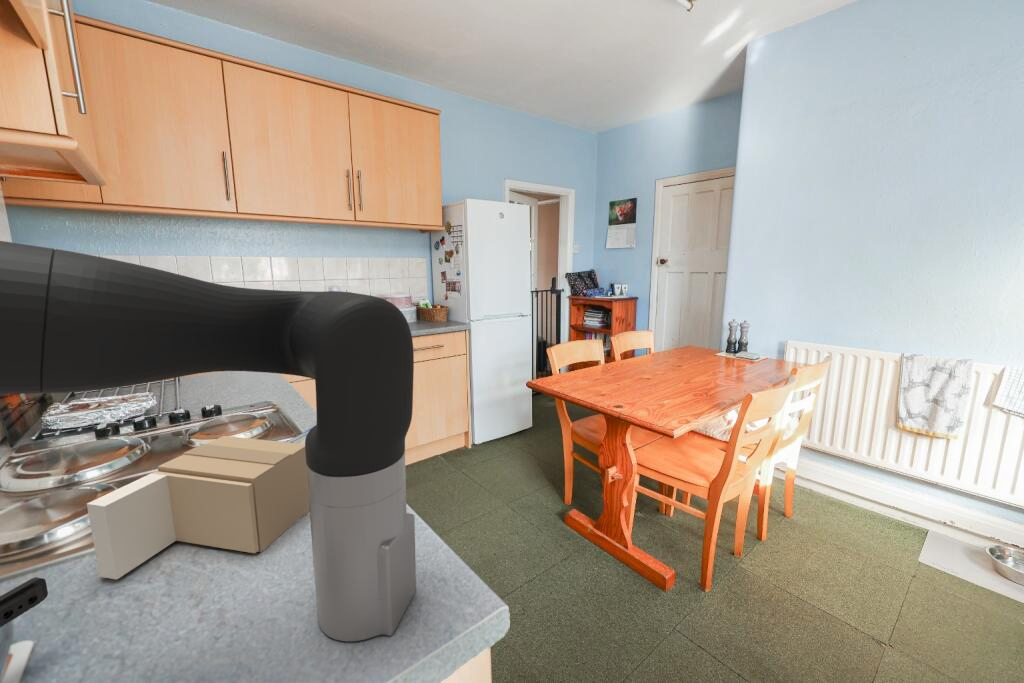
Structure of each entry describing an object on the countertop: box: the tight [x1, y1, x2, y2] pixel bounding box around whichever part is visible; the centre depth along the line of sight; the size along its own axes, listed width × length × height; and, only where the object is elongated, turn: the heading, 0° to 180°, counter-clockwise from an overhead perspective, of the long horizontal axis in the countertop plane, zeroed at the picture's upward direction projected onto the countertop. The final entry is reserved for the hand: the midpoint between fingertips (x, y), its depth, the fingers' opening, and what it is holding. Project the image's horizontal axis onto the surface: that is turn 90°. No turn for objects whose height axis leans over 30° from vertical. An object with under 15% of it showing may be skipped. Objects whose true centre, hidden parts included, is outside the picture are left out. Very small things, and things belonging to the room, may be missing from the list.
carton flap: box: [86, 470, 259, 581], centre depth 50 cm, size 14×8×9 cm, turn 79°
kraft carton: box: [157, 435, 310, 553], centre depth 59 cm, size 14×10×10 cm
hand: (7, 578), depth 40 cm, fingers open, 8 cm apart
